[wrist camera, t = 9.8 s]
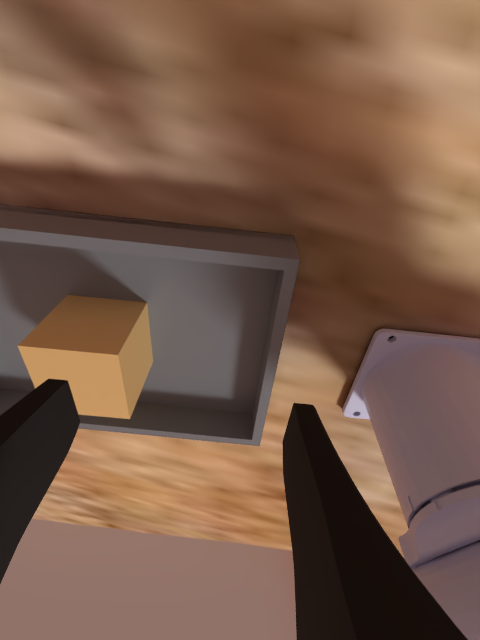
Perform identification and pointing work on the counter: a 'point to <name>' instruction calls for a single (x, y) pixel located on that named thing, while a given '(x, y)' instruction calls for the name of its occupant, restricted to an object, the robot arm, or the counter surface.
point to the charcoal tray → (158, 312)
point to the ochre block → (93, 352)
